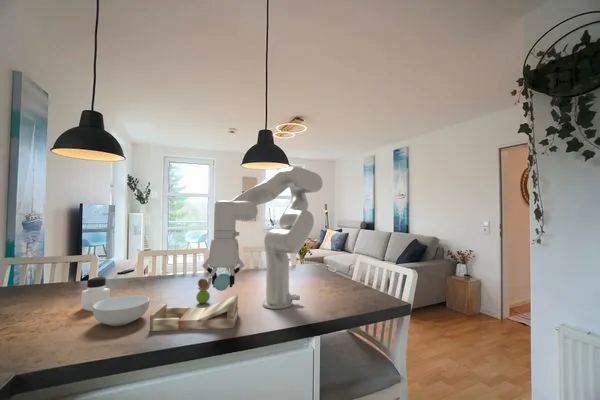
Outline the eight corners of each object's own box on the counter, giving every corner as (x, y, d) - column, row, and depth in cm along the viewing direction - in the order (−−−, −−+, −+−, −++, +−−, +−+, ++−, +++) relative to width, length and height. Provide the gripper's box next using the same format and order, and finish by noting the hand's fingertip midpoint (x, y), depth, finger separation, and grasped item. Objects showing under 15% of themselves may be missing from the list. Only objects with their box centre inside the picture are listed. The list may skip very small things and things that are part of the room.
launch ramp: (238, 314, 107) (238, 294, 107) (233, 327, 95) (234, 305, 95) (163, 317, 104) (164, 296, 104) (149, 330, 92) (150, 307, 92)
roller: (231, 284, 105) (232, 271, 105) (228, 290, 97) (228, 275, 97) (218, 285, 104) (218, 271, 105) (213, 290, 96) (214, 276, 97)
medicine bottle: (110, 306, 116) (111, 276, 116) (91, 311, 109) (92, 280, 110) (99, 303, 119) (100, 275, 119) (80, 309, 112) (81, 278, 113)
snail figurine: (207, 305, 117) (208, 276, 117) (193, 304, 118) (194, 275, 119) (214, 301, 122) (214, 273, 123) (200, 300, 123) (201, 273, 124)
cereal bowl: (106, 336, 88) (107, 313, 89) (83, 324, 97) (83, 303, 97) (158, 318, 103) (159, 299, 103) (134, 310, 111) (134, 292, 112)
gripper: (249, 234, 106) (248, 283, 105) (202, 234, 104) (201, 284, 104) (247, 236, 99) (246, 289, 98) (197, 235, 97) (195, 289, 96)
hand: (223, 286), depth 101 cm, fingers closed on roller, 5 cm apart
